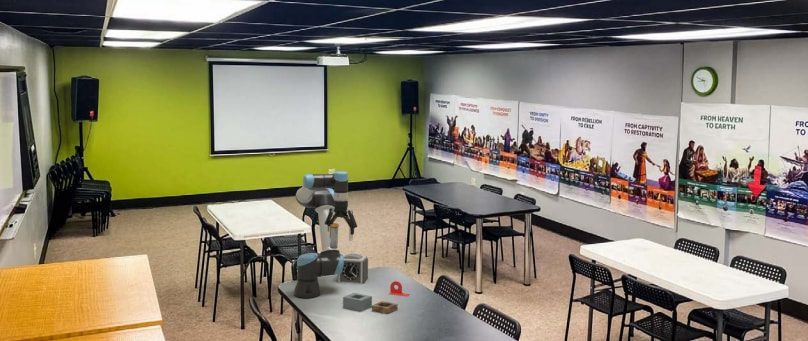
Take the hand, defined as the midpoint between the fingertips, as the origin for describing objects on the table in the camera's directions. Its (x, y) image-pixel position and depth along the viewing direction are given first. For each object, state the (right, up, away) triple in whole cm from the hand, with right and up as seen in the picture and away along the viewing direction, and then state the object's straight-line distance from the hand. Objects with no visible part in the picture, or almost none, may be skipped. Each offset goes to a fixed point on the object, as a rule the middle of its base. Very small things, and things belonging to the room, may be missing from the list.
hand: (340, 239), depth 343 cm
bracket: (+32, -36, +24) cm, 53 cm away
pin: (-4, -5, +3) cm, 7 cm away
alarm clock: (+3, -33, +49) cm, 59 cm away
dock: (+9, -37, 0) cm, 38 cm away
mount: (+24, -37, -5) cm, 45 cm away
